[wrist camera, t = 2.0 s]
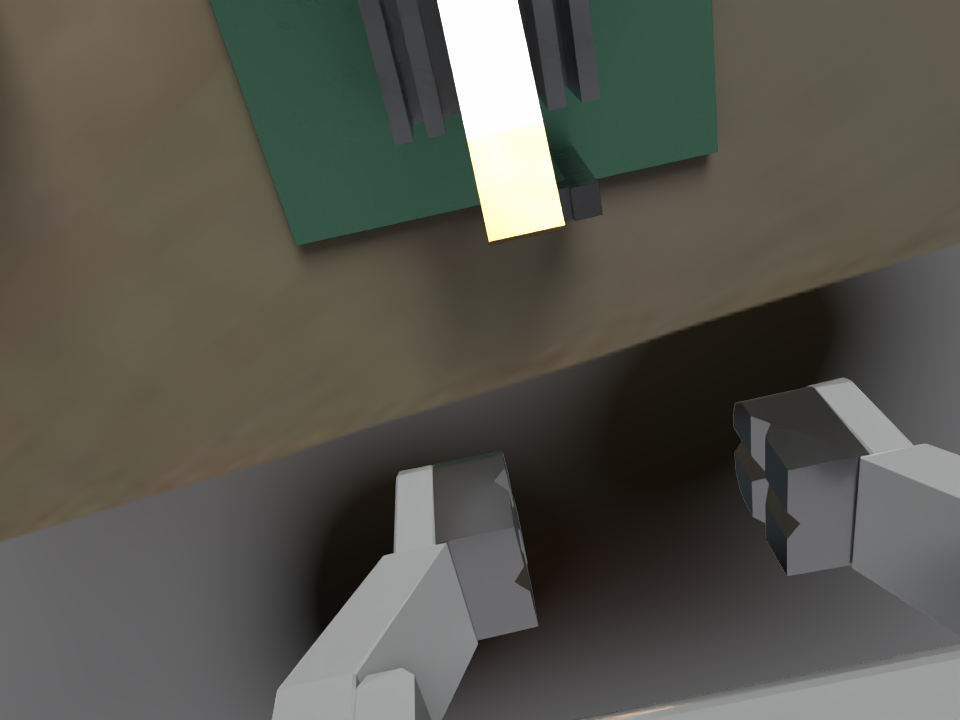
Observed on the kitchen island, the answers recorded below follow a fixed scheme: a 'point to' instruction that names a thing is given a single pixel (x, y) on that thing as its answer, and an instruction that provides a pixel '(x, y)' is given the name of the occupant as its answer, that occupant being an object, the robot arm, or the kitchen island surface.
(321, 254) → the kitchen island surface
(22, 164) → the kitchen island surface
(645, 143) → the circuit board
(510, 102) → the white strip
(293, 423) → the kitchen island surface
